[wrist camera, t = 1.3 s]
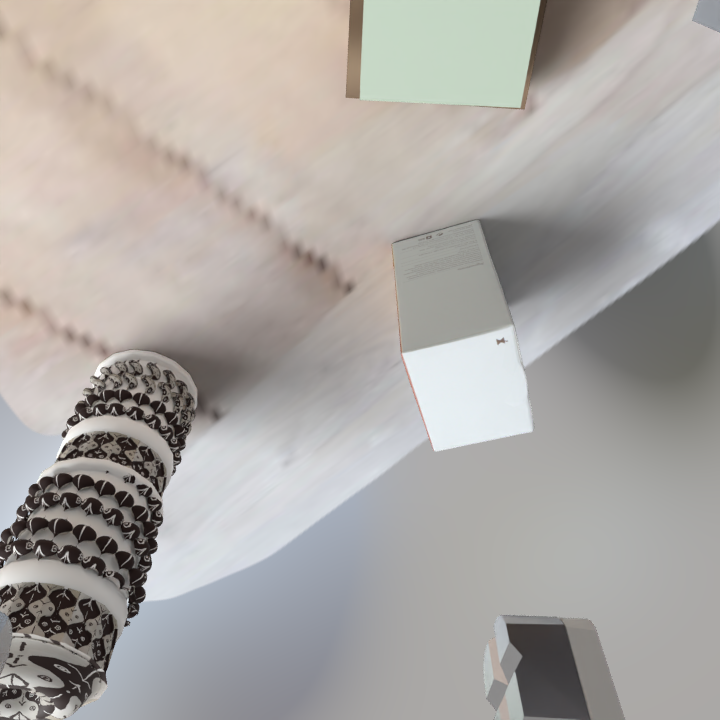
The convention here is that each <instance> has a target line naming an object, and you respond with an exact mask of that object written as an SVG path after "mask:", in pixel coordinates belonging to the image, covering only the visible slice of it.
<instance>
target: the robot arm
mask: <svg viewBox="0 0 720 720" xmlns="http://www.w3.org/2000/svg"><path fill="white" fill-rule="evenodd" d="M1 601H2V600H1V598H0V603H1ZM494 632H495V637H494V638H492V639H491V640H489V641H488V643H487V646H486V649H485V653H484V665H483V673H484V685H485V692H486V699H487V700H488V701H489V702H490V704H491V705H492V706H493V707H494V709H495V710H496V711H497V713H496V715H495V717H494V720H625V717H624V714H623V711H622V708H621V705H620V702H619V699H618V696H617V693H616V690H615V686H614V683H613V681H612V677H611V674H610V671H609V668H608V664H607V661H606V658H605V655H604V652H603V649H602V646H601V643H600V640H599V636H598V633H597V630H596V627H595V626H594V624H593V623H592V622H591V621H590V620H588V619H581V618H560V617H547V616H516V615H500V616H498V617H497V619H496V621H495V624H494ZM12 639H13V637H12V625H11V622H10V619H9V617H8V616H7V615H5V614H4V613H2V612H1V611H0V675H1V673H2V671H3V669H4V666H5V664H6V662H7V659H8V657H9V652H10V648H11V643H12Z"/></svg>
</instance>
